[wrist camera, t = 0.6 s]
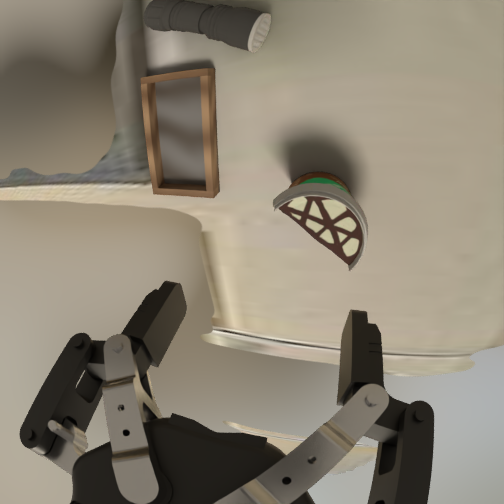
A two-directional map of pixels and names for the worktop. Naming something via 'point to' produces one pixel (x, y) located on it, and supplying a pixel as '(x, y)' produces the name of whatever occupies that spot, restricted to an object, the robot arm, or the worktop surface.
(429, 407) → the robot arm
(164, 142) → the open wooden frame
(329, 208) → the food container
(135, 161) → the worktop surface
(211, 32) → the flashlight
